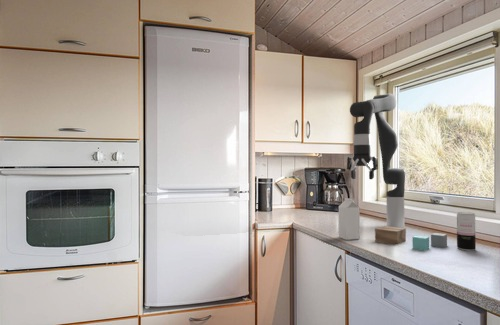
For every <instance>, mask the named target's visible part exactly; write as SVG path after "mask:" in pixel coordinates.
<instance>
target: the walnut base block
mask: <svg viewBox="0 0 500 325" xmlns="http://www.w3.org/2000/svg"><path fill="white" fill-rule="evenodd" d="M406 230H407V229H406V228H405V227H404V228H397V227H388V226H387V225H383V226H380V227H379V226H378V227H377V228H375V229H374V239H375V240H374V241H375V242H379V243H384V244H390V245H395V246H396V245H398V246H399V244H402V243H405V242H406V241H407V239H406V238H407V235H406V234H407V231H406Z"/></svg>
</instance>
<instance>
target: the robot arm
mask: <svg viewBox="0 0 500 325" xmlns="http://www.w3.org/2000/svg"><path fill="white" fill-rule="evenodd" d="M396 107H397V99H396V96H395V94H393V93H384V94H378V95H374V96H373V98H371V99H367V100H363V101H355V102H353V103H352V104H351V105H350V107H349V113H350V115H351V116H352V117H354V118H362V117H363V118H362V119H361V120H360V121H356V122H355V123H354V126H353V143H352V144H353V157H352V156H348V157H347V158H346V159H347V160H346V169H347V170H348V171H350V177H351V179H352V180H355V179H356V169H357V168H359V167H366V168H367V169H368V174H369V175H368V177H369V180H373V179H374V177H375V171H377V170H378V169H379V162H378V156H371V152H372V150H371V146H372V145H371V131H370V130H371V122H372V118H373V114H374V117H375V121H376V127H377V135H378V136H377V137H378V143H379V149H380V155H381V163H382V177H383V181H384V183H385V184H386V185H392V186H394V185H395V186H396V187H395V188H394V189H391V190H387V191H386V196H385V197H386V226H388V227H397V228H405V185H406V184H405V183H406V173H405V170H404V168H401V167H400V168H399V167H397V168H395V167H392V168H391V160H392V158H393V156H394V154H395V153H396V151H397V148H398V146H399V144H398V137H397V132H396V131H395V129H393V128H392V126H391V125H390V124H389V123H388V121H387V120H386V118H385V116H384V112H392V111H394V110H395V108H396ZM371 161H372V163H370V162H371Z"/></svg>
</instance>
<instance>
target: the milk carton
mask: <svg viewBox="0 0 500 325" xmlns="http://www.w3.org/2000/svg"><path fill="white" fill-rule="evenodd" d="M360 213H361V212H360V206H358V205H357V203H356V202H355V201H354V199H353V198H347V197H345V198H344V201H342V202H341V204H339V205H338V238H340V239H343V240H345V241H349V240H350V241H351V240H360V239H361V237H360V235H361V232H360V228H361V227H360V218H361V217H360Z"/></svg>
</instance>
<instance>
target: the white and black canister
mask: <svg viewBox="0 0 500 325" xmlns="http://www.w3.org/2000/svg"><path fill="white" fill-rule="evenodd" d="M475 213H476V212H475ZM475 213H474V212H473V211H472V212H470V211H457V212H456V247H457V249H459V250H463V251H469V252H471V251H475V250H476V249H477V247H476V237H477V236H476V214H475Z"/></svg>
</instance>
